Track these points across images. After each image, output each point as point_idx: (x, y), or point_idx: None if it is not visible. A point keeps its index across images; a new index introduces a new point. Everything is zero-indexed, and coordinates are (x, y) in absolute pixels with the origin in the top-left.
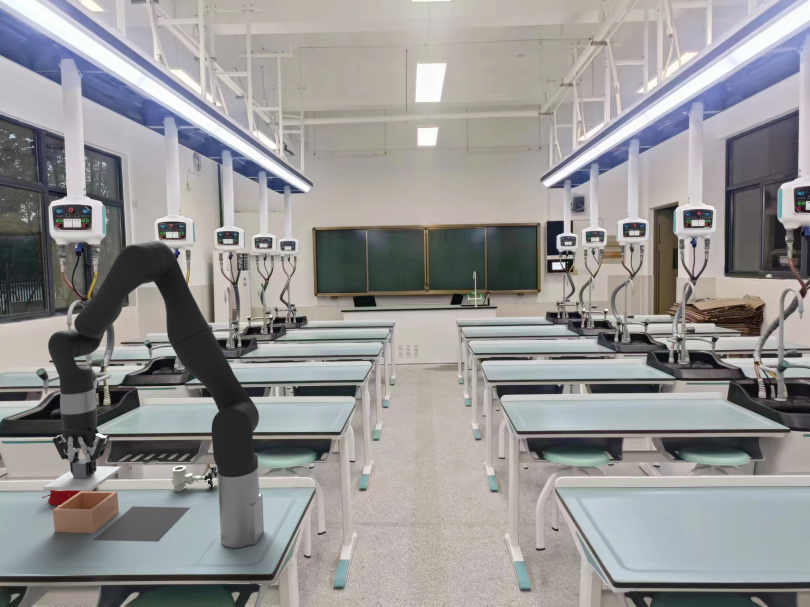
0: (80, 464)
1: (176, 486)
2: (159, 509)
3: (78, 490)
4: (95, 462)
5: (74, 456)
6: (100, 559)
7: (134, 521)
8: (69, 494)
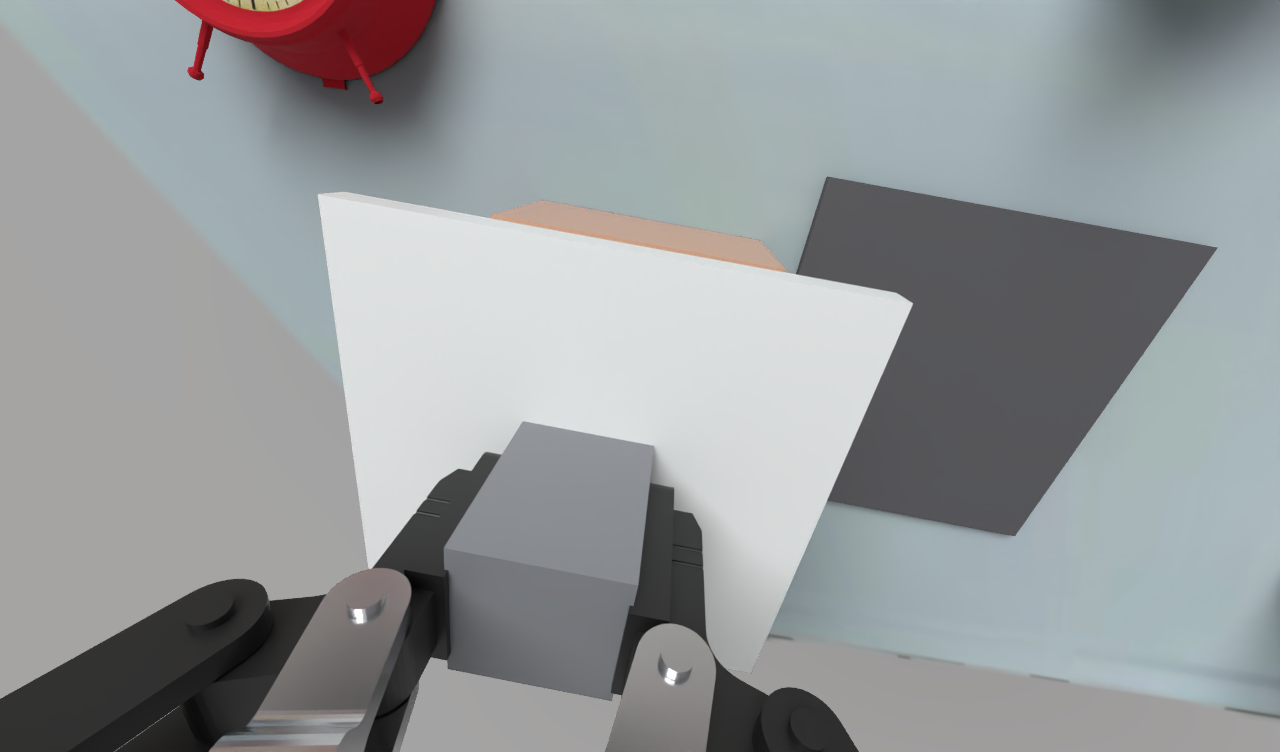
0: (557, 680)
1: None
2: (1010, 245)
3: None
4: (702, 616)
5: (387, 697)
6: (803, 581)
7: None
8: (350, 51)
